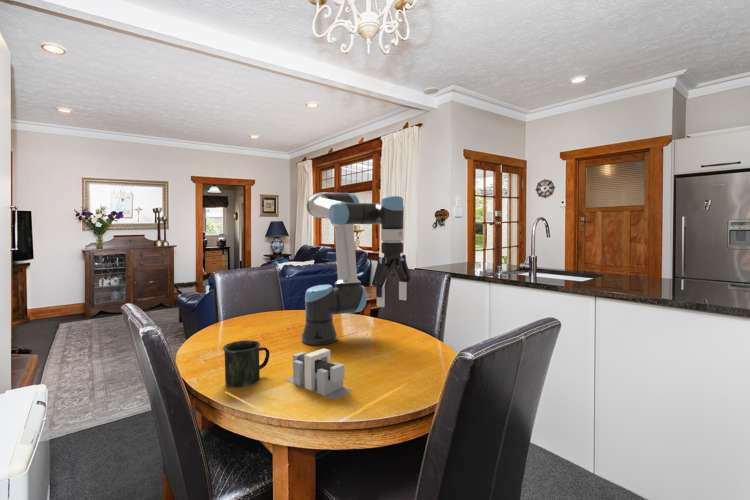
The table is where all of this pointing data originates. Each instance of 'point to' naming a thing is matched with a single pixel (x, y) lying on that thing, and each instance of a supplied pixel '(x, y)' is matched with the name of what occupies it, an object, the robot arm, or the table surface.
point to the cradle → (319, 382)
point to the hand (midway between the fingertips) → (392, 303)
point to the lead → (324, 367)
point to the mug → (243, 363)
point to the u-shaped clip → (310, 366)
